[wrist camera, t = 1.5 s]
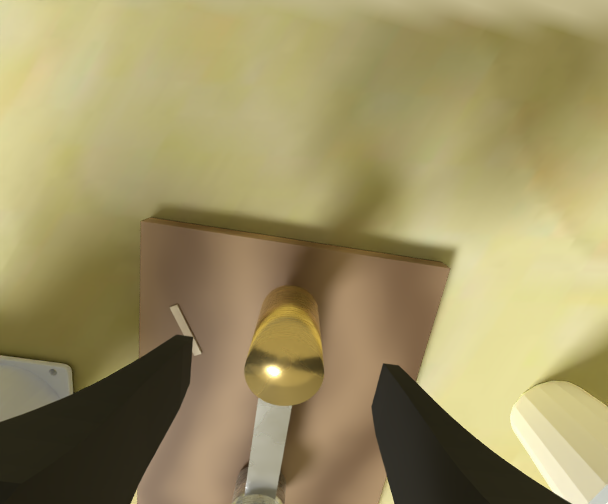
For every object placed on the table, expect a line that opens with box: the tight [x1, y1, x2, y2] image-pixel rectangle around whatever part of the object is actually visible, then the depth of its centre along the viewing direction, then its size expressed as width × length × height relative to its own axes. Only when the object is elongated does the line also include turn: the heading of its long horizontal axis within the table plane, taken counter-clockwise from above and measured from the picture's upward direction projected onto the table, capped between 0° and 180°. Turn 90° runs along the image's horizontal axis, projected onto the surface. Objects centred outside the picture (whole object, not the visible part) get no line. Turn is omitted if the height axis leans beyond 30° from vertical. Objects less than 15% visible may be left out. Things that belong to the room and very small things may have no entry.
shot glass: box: [510, 381, 608, 504], centre depth 20 cm, size 7×7×7 cm
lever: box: [232, 285, 324, 504], centre depth 17 cm, size 4×18×7 cm, turn 171°
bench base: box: [137, 217, 450, 504], centre depth 22 cm, size 18×22×1 cm
